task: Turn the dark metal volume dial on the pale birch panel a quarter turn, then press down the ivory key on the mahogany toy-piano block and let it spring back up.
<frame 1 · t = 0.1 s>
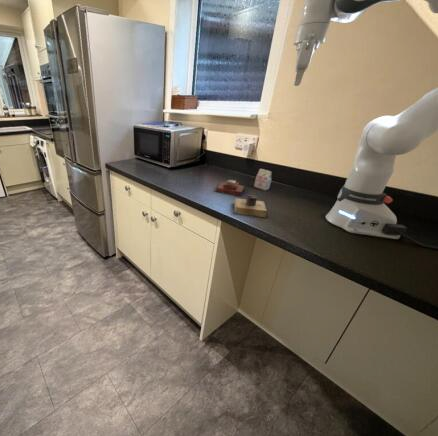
hand: (296, 85, 83), 48 cm above the counter, tool pointing down, fingers open, 8 cm apart
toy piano: (230, 190, 123), on the counter
volume dial: (251, 200, 100), point 5 cm above the counter, hinge at 0.0°
light grey boxy piece: (261, 188, 127), on the counter
key: (231, 182, 120), point 4 cm above the counter, slide at 0.1 cm
volume panel: (248, 210, 102), on the counter
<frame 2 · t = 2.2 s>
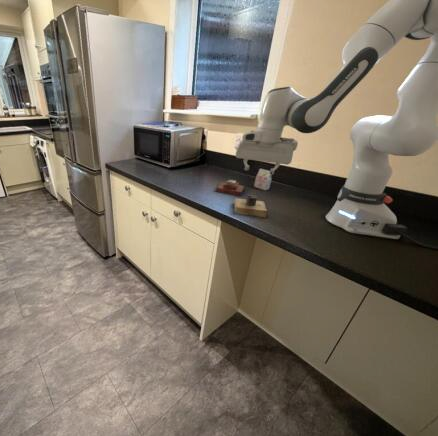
hand: (258, 171, 94), 17 cm above the counter, tool pointing down, fingers open, 8 cm apart
nothing on the counter moved.
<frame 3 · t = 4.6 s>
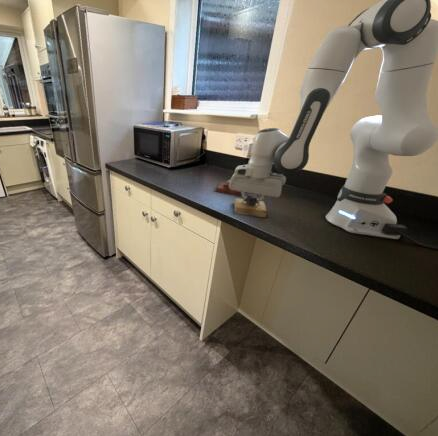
hand: (250, 202, 100), 4 cm above the counter, tool pointing down, fingers closed on volume dial, 4 cm apart
volume dial: (251, 200, 100), point 5 cm above the counter, hinge at 0.0°, touching gripper
everything else where it was.
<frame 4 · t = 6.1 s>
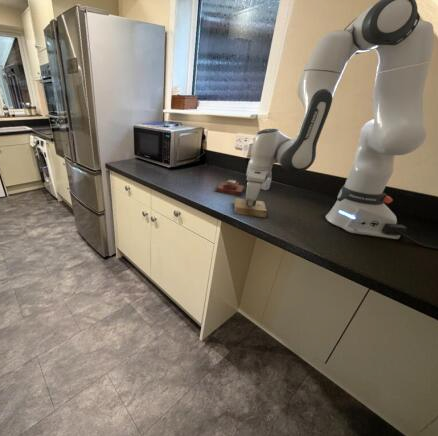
hand: (251, 202, 100), 4 cm above the counter, tool pointing down, fingers closed on volume dial, 4 cm apart
volume dial: (251, 200, 100), point 5 cm above the counter, hinge at 83.2°, touching gripper
everything else where it was.
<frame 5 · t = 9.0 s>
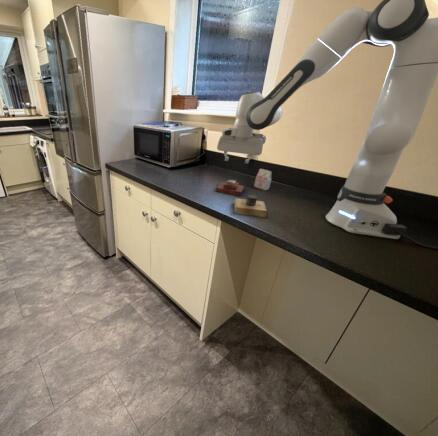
hand: (236, 161, 113), 16 cm above the counter, tool pointing down, fingers open, 8 cm apart
volume dial: (251, 200, 100), point 5 cm above the counter, hinge at 83.3°
everything else where it was.
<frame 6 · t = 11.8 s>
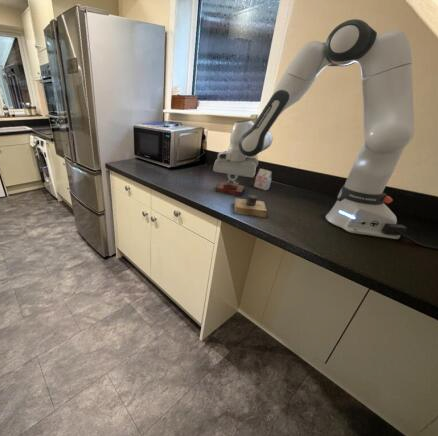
hand: (231, 182, 120), 5 cm above the counter, tool pointing down, fingers closed, pressing on key
key: (231, 184, 121), point 4 cm above the counter, slide at -0.7 cm, touching gripper
everything else where it was.
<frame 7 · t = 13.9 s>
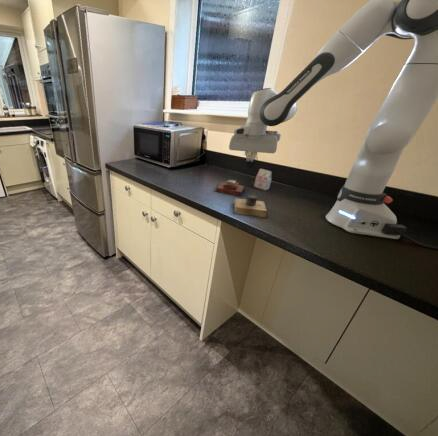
hand: (249, 161, 110), 17 cm above the counter, tool pointing down, fingers closed
key: (231, 182, 120), point 4 cm above the counter, slide at 0.1 cm
everything else where it was.
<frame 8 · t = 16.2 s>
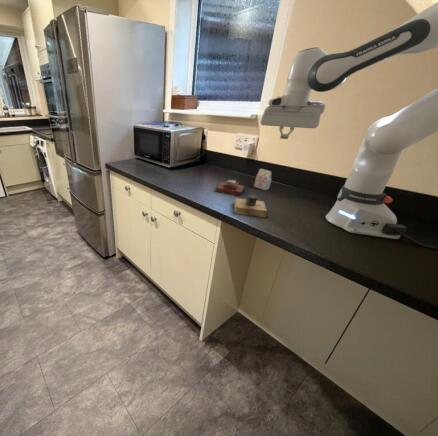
hand: (283, 138, 95), 29 cm above the counter, tool pointing down, fingers closed
nothing on the counter moved.
at the end: volume dial at +83° (first picture: +0°); key pushed in 1.1 cm at the most during the clip, back to where it started at the end; key slide at 0.1 cm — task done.
